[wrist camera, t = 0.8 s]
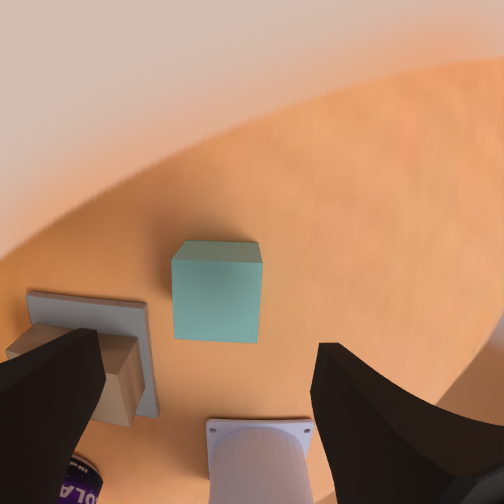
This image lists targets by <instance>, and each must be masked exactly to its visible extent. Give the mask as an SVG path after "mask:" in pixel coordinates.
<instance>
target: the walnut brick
mask: <svg viewBox="0 0 504 504" xmlns="http://www.w3.org/2000/svg"><path fill="white" fill-rule="evenodd" d="M73 330H76V329H71V328H65V327H59V326H53V325H48V324H42V323H37V322H36V323H35V324H34V325H33V326H31V327H30V328H29V329H28V330H27V331H26V332H25V333H24V334H22V335H21V336H20V337H19V338H18V339H17V340H16V341H15V342H14V343H12V344H11V345H10V346H9V347H8V348H7V349H6V350H5V351H6V354H7V357H8V360H10V359H13V358H15V357H17V356H19V355H22V354H24V353H26V352H28V351H31V350H33V349H35V348H37V347H39V346H41V345H43V344H45V343H47V342H50V341H52V340H54V339H56V338H58V337H60V336H62V335H64V334H66V333H68V332H71V331H73ZM97 335H98V340H99V346H100V351H101V356H102V361H103V365H104V370H105V374H106V382H105V385H104V388H103V391H102V394H101V397H100V400H99V402H98V404H97V406H96V408H95V410H94V412H93V414H92V416H91V418H90V419H91V420H95V421H100V422H105V423H109V424H114V425H120V426H125V427H130V426H131V423H132V421H133V418H134V416H135V413H136V410H137V408H138V405H139V403H140V400H141V398H142V395H143V392H144V390H145V381H144V375H143V368H142V361H141V354H140V347H139V339H138V337H130V336H121V335H113V334H106V333H98V332H97Z"/></svg>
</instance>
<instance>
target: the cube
mask: <svg viewBox="0 0 504 504" xmlns="http://www.w3.org/2000/svg"><path fill="white" fill-rule="evenodd" d="M262 265H263V263H262V258H261V253H260V248H259V244H258V243H251V242H227V241H203V240H186V241H185V242H184V243H183V245H182V246H181V247H180V249H179V250H178V251H177V252H176V254H175V255H174V256H173V258H172V259H171V271H172V301H173V321H174V338H175V339H186V340H201V341H218V342H241V343H257V341H258V326H259V311H260V296H261V281H262Z"/></svg>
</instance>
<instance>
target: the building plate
mask: <svg viewBox="0 0 504 504" xmlns="http://www.w3.org/2000/svg"><path fill="white" fill-rule="evenodd" d="M26 300H27V305H28V310H29V314H30V319H31V323H32V326H33V325H34V324H35V323H36V322H37V323H42V324H48V325H53V326H59V327H65V328H71V329H79V328H87V329H95V330H97V332H98V333H106V334H113V335H121V336H130V337H138V339H139V347H140V354H141V361H142V368H143V375H144V381H145V390H144V392H143V395H142V398H141V400H140V403H139V405H138V408H137V410H136V413H135V415H137V416H143V417H150V418H157V419H158V416H159V412H160V410H159V404H158V397H157V391H156V384H155V377H154V369H153V361H152V353H151V344H150V334H149V324H148V313H147V303H137V302H126V301H115V300H105V299H95V298H85V297H76V296H68V295H59V294H51V293H44V292H36V291H31V292H29V293H28V294H26Z"/></svg>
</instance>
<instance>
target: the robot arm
mask: <svg viewBox="0 0 504 504" xmlns="http://www.w3.org/2000/svg"><path fill="white" fill-rule="evenodd" d="M105 382H106V374H105V370H104V365H103V361H102V356H101V351H100V346H99V340H98V335H97V330H95V329H87V328H79V329H76V330H73V331H71V332H68V333H66V334H64V335H62V336H60V337H58V338H56V339H54V340H52V341H50V342H47V343H45V344H43V345H41V346H39V347H37V348H35V349H33V350H31V351H28V352H26V353H24V354H22V355H19V356H17V357H15V358H13V359H10V360H8V361H5V362H3V363H0V504H58V501H59V497H60V493H61V489H62V485H63V481H64V478H65V475H66V471H67V468H68V465H69V462H70V459H71V457H72V454H73V452H74V450H75V448H76V446H77V444H78V442H79V440H80V438H81V436H82V434H83V432H84V430H85V428H86V426H87V424H88V422H89V420H90V418H91V416H92V414H93V412H94V410H95V408H96V406H97V404H98V402H99V400H100V397H101V394H102V391H103V388H104V385H105ZM310 395H311V402H312V408H313V413H314V418H315V422H316V425H317V428H318V431H319V435H320V438H321V441H322V444H323V447H324V450H325V453H326V457H327V460H328V463H329V466H330V469H331V473H332V477H333V481H334V486H335V492H336V497H337V503H338V504H504V426H500V425H494V424H489V423H485V422H481V421H477V420H473V419H470V418H466V417H463V416H460V415H457V414H454V413H452V412H449V411H446V410H444V409H441V408H439V407H437V406H434V405H432V404H430V403H428V402H426V401H424V400H422V399H420V398H418V397H416V396H414V395H412V394H411V393H409V392H407V391H405V390H404V389H402V388H400V387H399V386H397V385H396V384H394V383H393V382H391V381H389V380H388V379H387V378H385V377H384V376H382V375H381V374H379V373H378V372H377V371H375V370H374V369H372V368H371V367H370V366H368V365H367V364H366V363H364V362H363V361H362V360H361V359H359V358H358V357H357V356H355V355H354V354H353V353H352V352H350V351H349V350H348V349H346V348H345V347H344V346H342V345H341V344H339V343H338V342H337V343H319V348H318V353H317V359H316V364H315V370H314V375H313V380H312V385H311V390H310ZM314 426H315V424H314V421H313V420H311V419H301V420H228V419H209V420H207V422H206V435H207V451H208V466H209V479H210V492H209V504H314V500H313V495H312V490H311V485H310V480H309V476H308V471H307V466H306V461H305V459H306V456H307V452H308V449H309V445H310V442H311V438H312V434H313V430H314ZM212 428H213V429H212ZM305 429H307V430H305Z"/></svg>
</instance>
